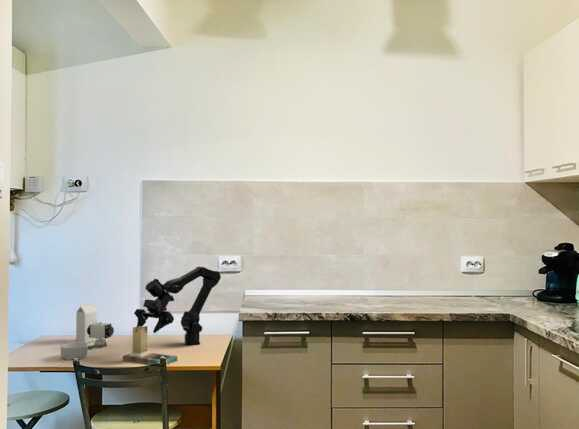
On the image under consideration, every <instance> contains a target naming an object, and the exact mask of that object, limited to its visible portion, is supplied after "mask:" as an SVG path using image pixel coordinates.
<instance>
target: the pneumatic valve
mask: <svg viewBox="0 0 579 429" xmlns="http://www.w3.org/2000/svg"><path fill="white" fill-rule="evenodd" d="M114 332H115V328H114V326H112V323H106V322H105V323H104V322H103V323H102V321H99V323H98V322H97V323H94V324H91V325H89V327H88V328H87V334H88V335H89V338H96V339H97V340H96V341H93V345H103V344H107V341H106V339H108V338H112V336H113V335H114ZM99 348H100V349H102V348H103V347H99Z"/></svg>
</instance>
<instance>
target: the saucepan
mask: <svg viewBox="0 0 579 429" xmlns="http://www.w3.org/2000/svg"><path fill="white" fill-rule="evenodd" d="M59 346H60V348H61V349H60V357H61V358H62V359H64V360H69V361H72V360H73V359H74V358H79V359H83V358H84V357H86V356H87V355H88V350H89V351H91V350H92V349H95V348H97V347H102V348H104V347H108V344H107V343H106V344H103V345H94V344H93V345H89V342H88V343H87V342H77V341H72V342H67V343H63V344H60V345H59ZM79 359H78V360H79ZM74 360H75V359H74Z"/></svg>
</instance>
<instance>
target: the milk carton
mask: <svg viewBox="0 0 579 429" xmlns="http://www.w3.org/2000/svg"><path fill="white" fill-rule="evenodd" d="M75 318H76V321H75V322H76V324H75V325H76V326H75V329H76V331H75V333H76V335H75V342H87V343H88V344H89V343H91V342H95V341H96V340H98V339H96V338H89V335H88V334H87V328H88V327H89V325H91V324H94V323H98V310H97V309H96V307H95V305H94V302H89V303H82V304H80V307H79V308H78V309H77V310H76V316H75Z"/></svg>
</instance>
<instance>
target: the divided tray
mask: <svg viewBox="0 0 579 429" xmlns="http://www.w3.org/2000/svg"><path fill="white" fill-rule="evenodd" d="M161 356H164V357H166V360H167V364H168V365H170V364H169V363H171V362H173V363H175V362H177V361H178V356H177V355H171V354H165V353H164V354H162V353H156V352H152V351H151V350H147V352H145V353H142V354H136V353H133V351H132V352H129V353H127V354H125V355H122V361H124V362H132V363H139V364H145V365H146V364H147V365H152V364H157V363H159V362H160V357H161ZM174 361H175V362H174ZM171 364H172V363H171Z"/></svg>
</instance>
